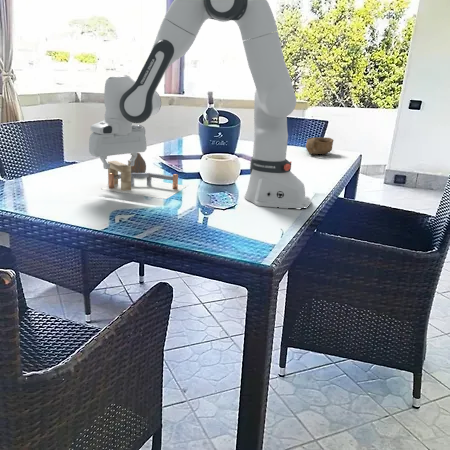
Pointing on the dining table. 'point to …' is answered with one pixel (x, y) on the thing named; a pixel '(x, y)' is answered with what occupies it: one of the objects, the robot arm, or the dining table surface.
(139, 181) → the board
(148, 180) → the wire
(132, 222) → the dining table surface
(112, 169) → the wooden arch
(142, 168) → the vase
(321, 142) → the bowl
